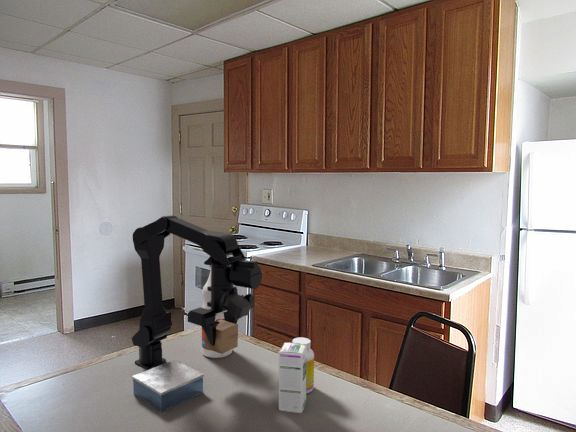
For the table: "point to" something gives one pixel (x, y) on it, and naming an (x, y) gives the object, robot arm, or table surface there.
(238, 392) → the table surface
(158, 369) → the slate tin
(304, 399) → the syrup box
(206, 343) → the walnut block
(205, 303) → the fruit juice
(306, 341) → the supplement bottle
